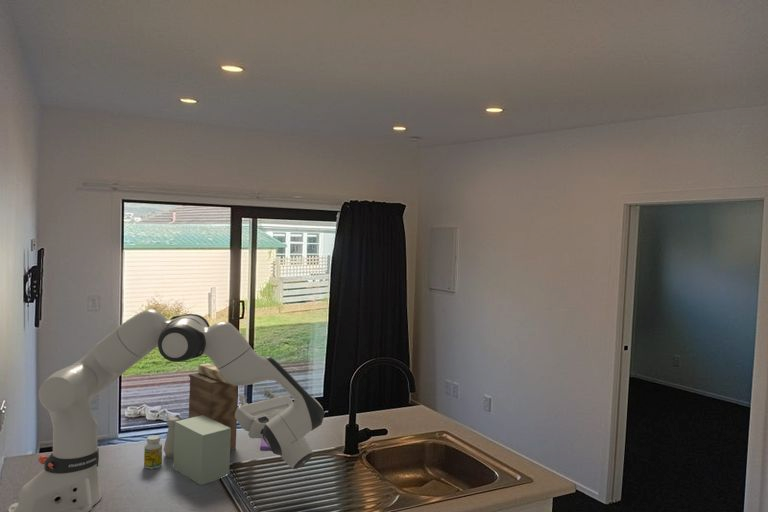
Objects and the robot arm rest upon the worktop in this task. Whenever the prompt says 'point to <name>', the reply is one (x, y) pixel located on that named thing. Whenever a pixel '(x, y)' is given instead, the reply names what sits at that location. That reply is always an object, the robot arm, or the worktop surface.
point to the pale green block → (202, 449)
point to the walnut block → (214, 401)
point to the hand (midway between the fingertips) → (254, 394)
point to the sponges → (264, 445)
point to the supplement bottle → (153, 452)
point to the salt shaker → (170, 437)
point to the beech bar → (211, 372)
